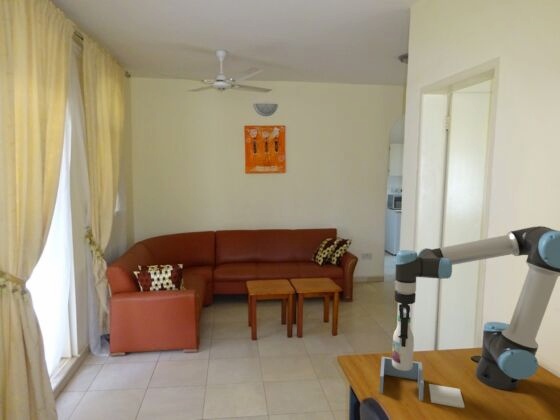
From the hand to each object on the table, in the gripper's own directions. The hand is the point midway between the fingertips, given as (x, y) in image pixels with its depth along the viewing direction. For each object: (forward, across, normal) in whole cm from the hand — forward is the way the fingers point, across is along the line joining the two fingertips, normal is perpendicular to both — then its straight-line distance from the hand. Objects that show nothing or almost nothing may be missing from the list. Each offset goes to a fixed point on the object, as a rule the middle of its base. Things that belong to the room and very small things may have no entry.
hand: (402, 348), depth 146 cm
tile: (+15, +2, +16) cm, 22 cm away
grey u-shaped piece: (+15, 0, 0) cm, 15 cm away
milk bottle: (+7, 0, 0) cm, 7 cm away
